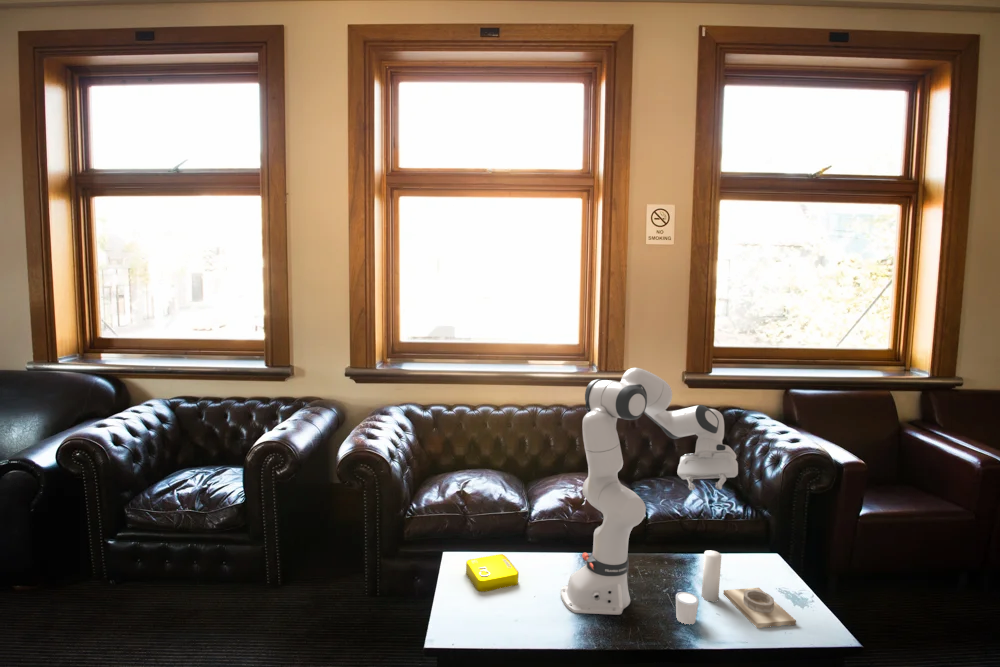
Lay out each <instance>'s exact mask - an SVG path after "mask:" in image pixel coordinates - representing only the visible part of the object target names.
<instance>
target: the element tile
mask: <svg viewBox="0 0 1000 667" xmlns="http://www.w3.org/2000/svg"><path fill="white" fill-rule="evenodd" d="M465 565H466V566H465V573H466V575H467V577H468V579H470V581H471V583H472V585H473V586H474V588H475V590H476V591H478V592H479V593H480V592H481V593H485V592H490V591H496V590H501V589H505V588H506V589H507V588H510V587H515V586H517V585H518V584H519V570H518V569H517V568H516V567H515V565H514V564H513V563H512V562H511V561H510V559H509V558H508V557H507V556H506V555H505V554H502V553H498V554H494V555H489V556H488V555H487V556H483V557H482V556H481V557H477V558H472V559H471V558H470V559H468V560H466V564H465Z"/></svg>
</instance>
